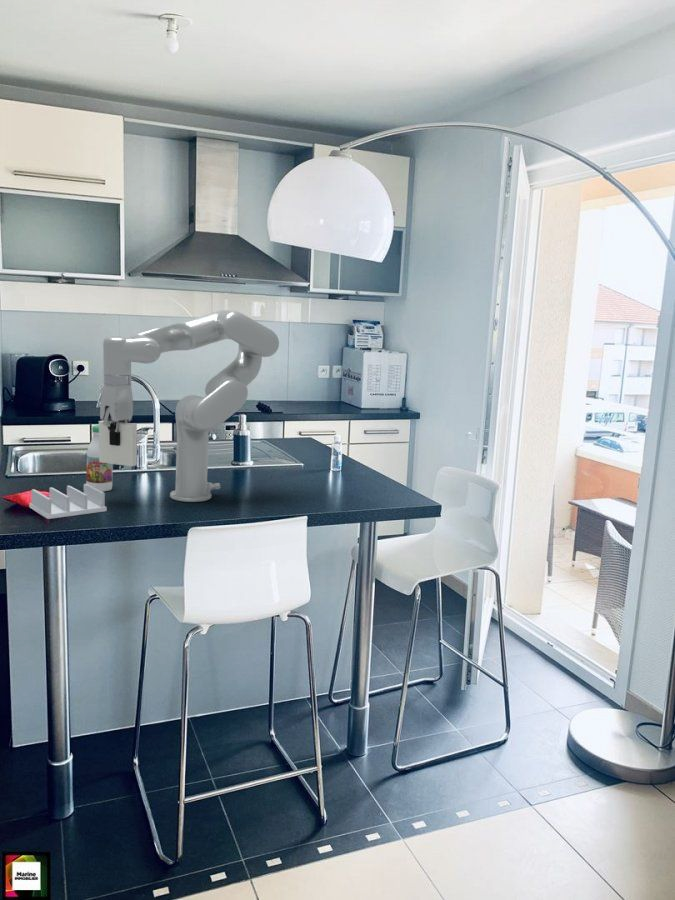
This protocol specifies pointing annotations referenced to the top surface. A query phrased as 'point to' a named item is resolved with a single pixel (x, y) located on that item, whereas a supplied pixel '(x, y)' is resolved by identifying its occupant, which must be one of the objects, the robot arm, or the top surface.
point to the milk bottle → (97, 466)
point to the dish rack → (68, 502)
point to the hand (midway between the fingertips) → (118, 443)
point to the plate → (125, 450)
